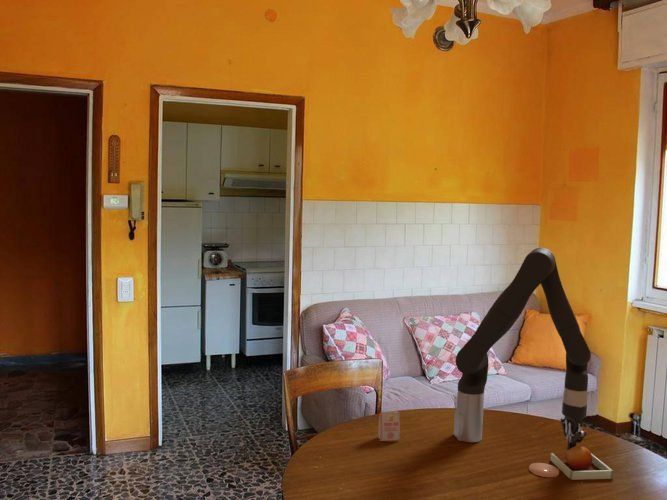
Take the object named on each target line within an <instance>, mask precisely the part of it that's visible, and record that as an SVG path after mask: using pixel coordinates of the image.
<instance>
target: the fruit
mask: <svg viewBox="0 0 667 500" xmlns="http://www.w3.org/2000/svg"><path fill="white" fill-rule="evenodd" d="M565 460H566V463H567V465H568V467H570V469H571V470H572V469H573V471H590V468H591V467H592V465H593V463H592V461H593V459H592V455H591V451H590V450H589V449H588V448H587V447H585V446H581V445H580V446H579V445H578V446H577V445H576V447H573V448H571V449H569V450H568V451H567V450H566V453H565Z"/></svg>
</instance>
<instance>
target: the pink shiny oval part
mask: <svg viewBox="0 0 667 500" xmlns="http://www.w3.org/2000/svg"><path fill="white" fill-rule="evenodd" d="M528 469H529V471H530V472H531V473H532V474H533V475H535V476H538V477H540V478H541V477H542V478H556V477H558V476H559V475H560V469H559V468H558V467H557V466H555V465H552V464H549V463H545V462H534V463H531V464H529V466H528Z"/></svg>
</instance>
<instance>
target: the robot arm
mask: <svg viewBox="0 0 667 500" xmlns="http://www.w3.org/2000/svg"><path fill="white" fill-rule="evenodd" d="M561 280H562V279H561V278H560V275H559V269H558V266H557V262H556V258H555V255H554V253H553V251H551V250H550V249H548V248H545V247H537V248H534V249H533V250H531V251H530V252H529V253H528V254H527V255H526V256H525V258H524V259H523V262H522V263H521V266H520V267H519V270H518V271H517V273H516V275H515V276H514V278H513V280H512V281H511V283H510V284H509V285H508V286H506V288H505V289H504V290H503V291H502V292H501V293H500V294H499V296H498V297H497V298H496V299H495V301H494V302H493V304H492V306H491V307H490V308H489V309H488V310H487V313H486V314H485V315H484V317H483V319H482V321H481V322H480V323H479V325H478V327H477V328H476V330H475V332H474V333H473V335H471V337H470V338H469V340H468V341H467V342H466V343H465V344H464V345H463V346H462V347H461V348H460V350H459V351H457V353H456V356H455V366H456V368H457V369H458V371H459V372H460V373H462V375H461V377H460V378H459V380H458V383H457V393H456V408H454V419H453V435H454V437H455V438H456V439H457V440H458V442H464V443H479V442H480V441H482V439H483V437H482V436H483V420H484V419H483V418H484V403H485V401H484V400H485V387H486V386H487V385H486V384H487V381H488V375H489V374H488V372H489V356H488V355H489V354H488V352H489V350H491V348H492V347H493V346H494V345H495V344H496V343H498V342H499V340H500V339H501V338H503V337H504V336H505V335H506V334H507V333H508V332H509V331H510V330H511V328H512V327H513V326H514V324H515V323H516V322H517V321H518V319H519V318H520V316H521V314H522V313H523V311H524V310H525V308H526V305H527V304H528V301H529V300H530V297H531V296H532V294H533V293H534V292H535V290H536V289H537V288H538V287H539V286H541V287H542V290H543V293H544V296H545V299H546V305H547V308H548V311H549V315H550V318H551V321H552V323H553V325H554V327H555V329H556V332H557V334H558V335H559V337H560V340H561V342H562V345H563V348H564V350H565V375H564V387H563V392H562V403H561V404H562V405H561V406H562V407H561V414H562V416H564V418H560V423H561V424H560V425H561V427H562V432H563V435H564V437H565V438H566V441H567V447H566V452H567V451H568V450H569V449H571V448H573V447H576V446H577V444H580V443H581V442H582V441H583V440H584V439H585V437H586V436H587V432H586V431H584V429H583V426H584V425H583V420H584V419H586V417H587V412H588V398H589V395H588V389H589V388H588V387H589V386H588V385H589V376H588V375H589V374H588V363H589V362H590V360H591V356H592V352H591V350H590V348H589V346H588V344H587V341H586V339H585V337H584V335H583V334H582V331H581V328H580V325H579V322H578V320H577V317H576V315H575V313H574V311H573V308H572V306H571V304H570V302H569V298H568V297H567V294H566V292H565V289H564V287H563V284H562V281H561Z"/></svg>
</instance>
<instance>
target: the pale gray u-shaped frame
mask: <svg viewBox="0 0 667 500" xmlns="http://www.w3.org/2000/svg"><path fill="white" fill-rule="evenodd" d="M590 453H591V452H590ZM591 455H592V459H593V461H592V465H594V466H595V467H596V468H598V469H599V470H589V471H576V470H572V468H569V466H567V464H566V463H564V462H563V461H562V460H561V459H560V458H559V457H558V456H556V455H555V454H554V453H553V452H551V453H550V461H551V463H552V464H553V465H554V466H555V467H556V468H557V469H558V470H559V471H561V472H562V473H563V474H564V475H565V476H566V477H567V478H568V479H570V480H571V481H575V480H577V481H578V480H610V479H611V480H612V479H613V475H614V470H613V469H611V468H610V466H608V465H607V464H606V463H604V462H603V461H602V460H600V459H599V458H597V457H596V456H595V454H593V453H591Z"/></svg>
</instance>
